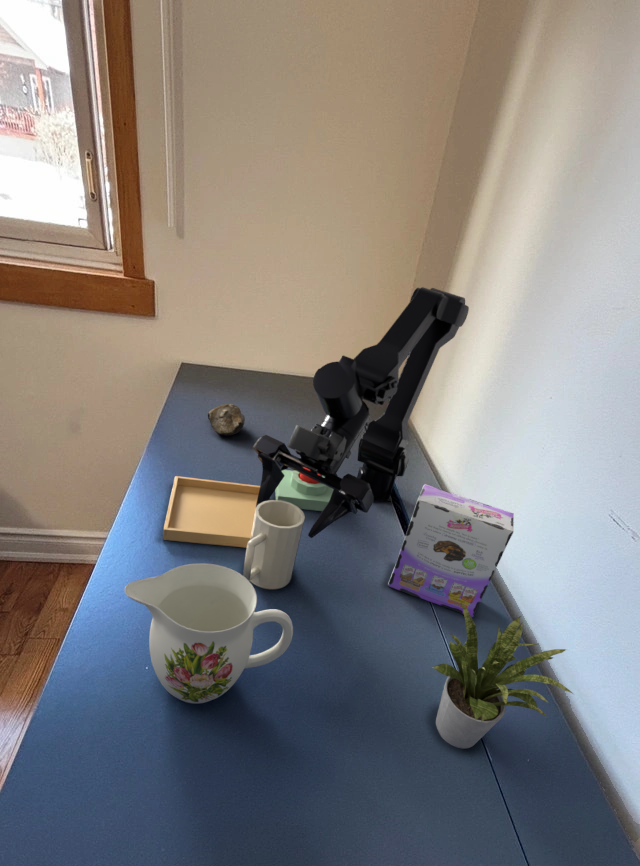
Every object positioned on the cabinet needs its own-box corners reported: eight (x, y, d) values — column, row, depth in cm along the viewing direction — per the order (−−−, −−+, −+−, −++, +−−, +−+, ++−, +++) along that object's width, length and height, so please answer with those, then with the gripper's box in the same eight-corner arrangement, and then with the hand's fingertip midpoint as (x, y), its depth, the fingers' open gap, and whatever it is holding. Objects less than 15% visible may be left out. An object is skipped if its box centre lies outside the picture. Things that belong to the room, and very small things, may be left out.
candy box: (475, 596, 86) (516, 512, 77) (472, 619, 81) (515, 532, 72) (394, 566, 88) (424, 481, 80) (386, 586, 84) (417, 498, 75)
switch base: (333, 485, 107) (338, 468, 105) (340, 513, 99) (345, 495, 97) (274, 478, 104) (277, 460, 102) (276, 506, 96) (279, 487, 94)
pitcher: (287, 717, 60) (311, 631, 53) (118, 723, 56) (117, 629, 48) (276, 643, 69) (295, 561, 62) (128, 643, 64) (130, 553, 57)
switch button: (319, 475, 102) (321, 467, 101) (321, 485, 98) (323, 477, 97) (298, 472, 101) (300, 464, 100) (300, 483, 98) (302, 474, 97)
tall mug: (263, 553, 84) (274, 494, 78) (299, 574, 82) (313, 514, 76) (221, 583, 76) (230, 520, 71) (260, 607, 74) (272, 544, 68)
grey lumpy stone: (247, 432, 113) (248, 420, 122) (234, 403, 110) (236, 393, 119) (214, 445, 114) (218, 432, 123) (200, 416, 111) (205, 405, 120)
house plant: (529, 815, 57) (605, 720, 48) (402, 778, 57) (453, 677, 48) (511, 706, 69) (569, 614, 60) (406, 676, 69) (448, 581, 60)
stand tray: (265, 495, 98) (266, 486, 97) (267, 549, 85) (269, 539, 84) (174, 485, 95) (175, 475, 94) (162, 539, 82) (163, 529, 81)
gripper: (270, 381, 75) (210, 474, 72) (387, 431, 69) (326, 535, 66) (291, 420, 85) (239, 502, 83) (395, 466, 79) (342, 557, 76)
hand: (283, 522), depth 77 cm, fingers open, 9 cm apart
